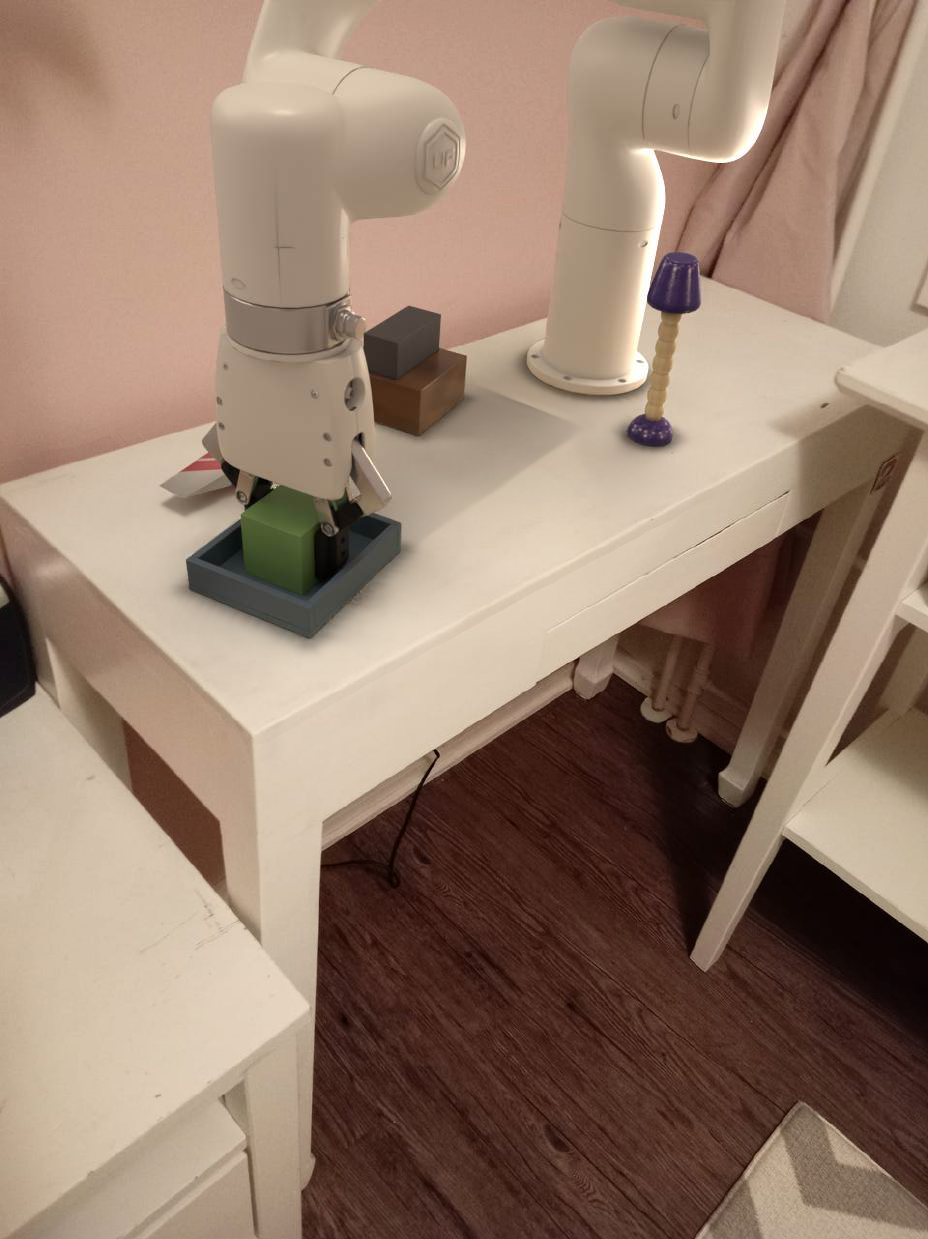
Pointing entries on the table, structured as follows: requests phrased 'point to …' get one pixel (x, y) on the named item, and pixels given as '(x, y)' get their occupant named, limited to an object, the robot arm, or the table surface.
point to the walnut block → (420, 392)
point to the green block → (281, 539)
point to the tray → (226, 581)
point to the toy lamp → (666, 340)
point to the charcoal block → (402, 342)
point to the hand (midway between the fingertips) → (297, 555)
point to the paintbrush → (197, 478)
